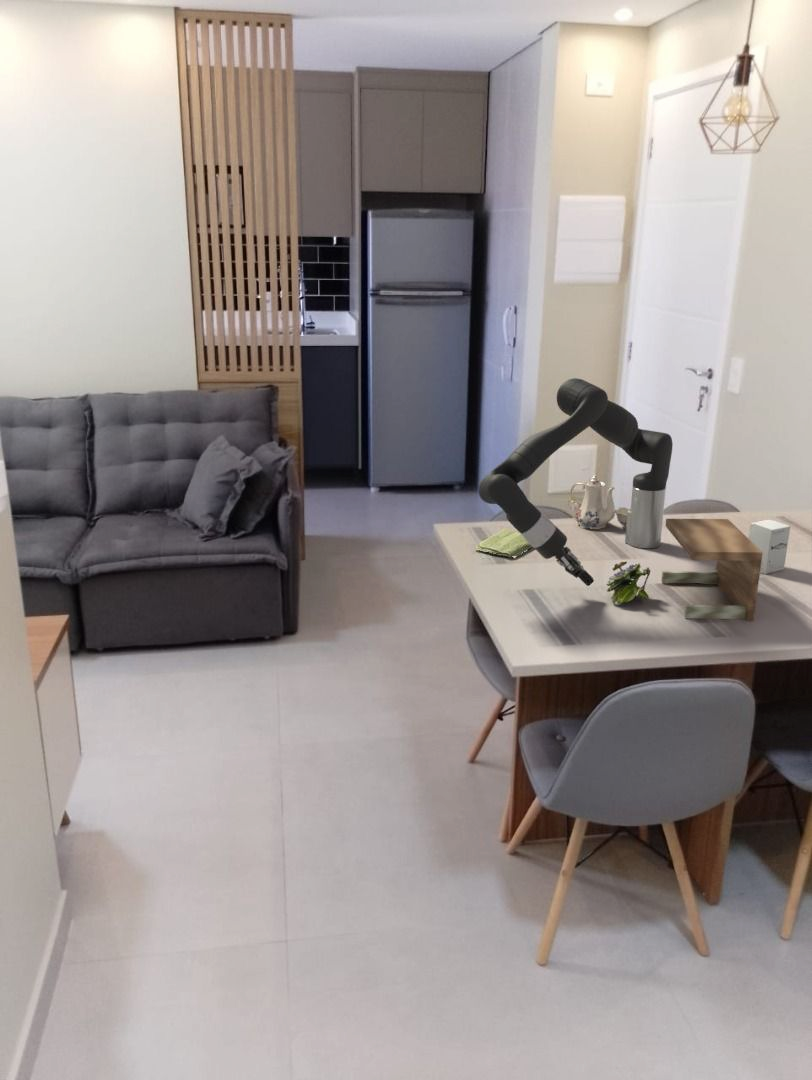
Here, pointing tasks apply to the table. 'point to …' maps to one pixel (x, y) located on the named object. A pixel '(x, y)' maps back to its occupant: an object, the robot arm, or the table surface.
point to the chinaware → (596, 506)
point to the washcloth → (505, 543)
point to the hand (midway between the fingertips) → (590, 582)
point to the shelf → (718, 565)
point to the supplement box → (770, 543)
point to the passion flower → (627, 583)
